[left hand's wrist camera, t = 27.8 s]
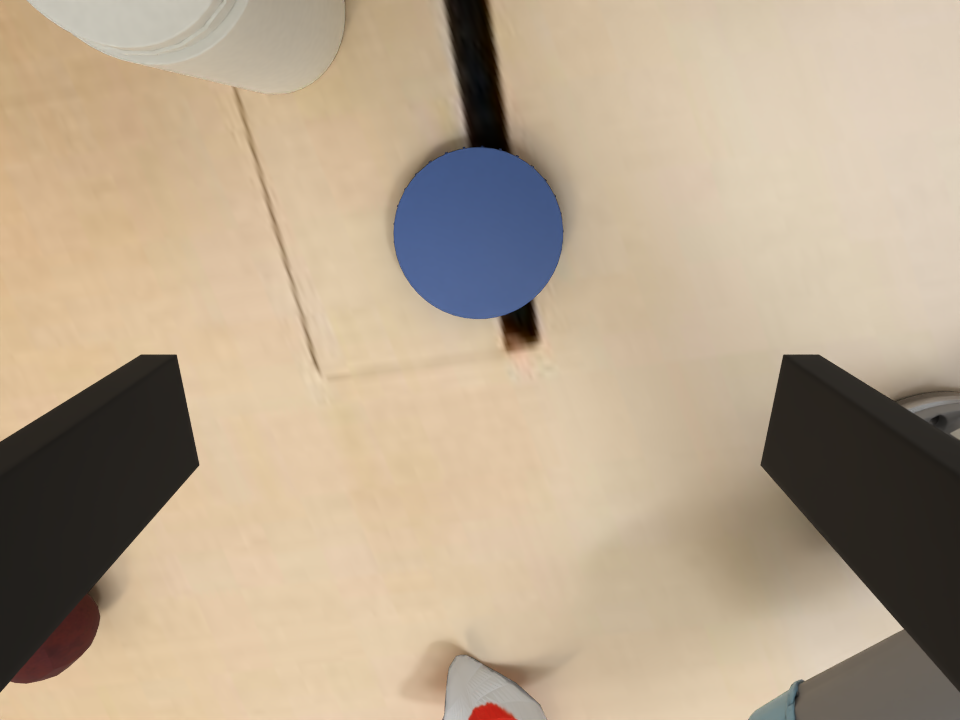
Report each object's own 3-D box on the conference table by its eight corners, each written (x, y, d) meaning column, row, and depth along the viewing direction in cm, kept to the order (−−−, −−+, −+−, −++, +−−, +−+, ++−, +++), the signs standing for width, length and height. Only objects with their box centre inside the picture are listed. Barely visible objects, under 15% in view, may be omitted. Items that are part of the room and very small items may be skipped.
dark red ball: (8, 567, 46) (-71, 637, 39) (99, 557, 46) (35, 627, 39) (44, 634, 49) (-24, 711, 42) (131, 626, 48) (76, 702, 42)
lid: (365, 197, 36) (359, 200, 34) (516, 113, 34) (517, 111, 32) (445, 338, 39) (444, 346, 37) (586, 267, 37) (591, 273, 36)
